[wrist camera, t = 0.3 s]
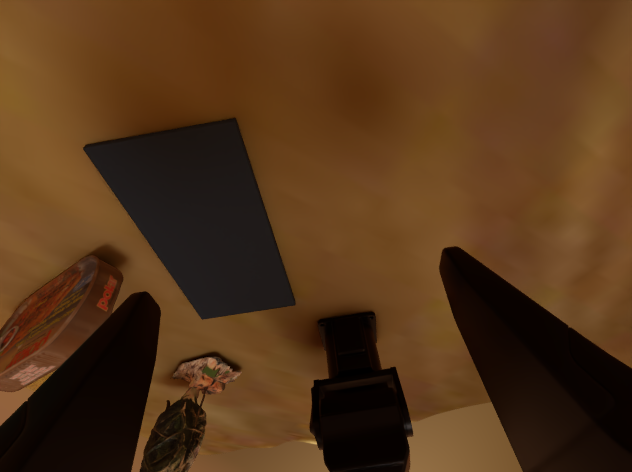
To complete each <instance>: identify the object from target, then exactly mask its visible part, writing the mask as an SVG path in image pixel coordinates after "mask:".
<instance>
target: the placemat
mask: <svg viewBox="0 0 632 472" xmlns="http://www.w3.org/2000/svg"><path fill="white" fill-rule="evenodd" d="M83 149H84V151H85V152H86V154H87V155H88V157H89V158H90V159H91V161H92V162H93V164H94V165H95V167H96V168H97V169H98V171H99V172H100V174H101V175H102V177H103V178H104V180H105V181H106V182H107V184H108V185H109V187H110V188H111V190H112V191H113V192H114V194H115V195H116V197H117V198H118V200H119V201H120V202H121V204H122V205H123V207H124V208H125V210H126V211H127V212H128V214H129V215H130V217H131V218H132V220H133V221H134V223H135V224H136V225H137V227H138V228H139V230H140V231H141V233H142V234H143V235H144V237H145V238H146V240H147V241H148V243H149V244H150V245H151V247H152V248H153V250H154V251H155V253H156V254H157V256H158V257H159V258H160V260H161V261H162V263H163V264H164V266H165V267H166V268H167V270H168V271H169V273H170V274H171V276H172V277H173V278H174V280H175V281H176V283H177V284H178V286H179V287H180V288H181V290H182V291H183V293H184V294H185V296H186V297H187V299H188V300H189V301H190V303H191V304H192V306H193V307H194V309H195V310H196V311H197V313H198V314H199V316H200V317H201V319H209V318H215V317H222V316H228V315H235V314H241V313H248V312H254V311H261V310H267V309H274V308H281V307H287V306H294V305H295V299H294V296H293V293H292V290H291V287H290V284H289V281H288V278H287V275H286V272H285V268H284V265H283V262H282V259H281V256H280V253H279V250H278V247H277V244H276V241H275V238H274V235H273V231H272V228H271V225H270V222H269V219H268V216H267V213H266V210H265V207H264V204H263V201H262V198H261V195H260V191H259V188H258V185H257V182H256V179H255V176H254V173H253V170H252V167H251V164H250V161H249V158H248V154H247V151H246V148H245V145H244V142H243V139H242V136H241V133H240V130H239V127H238V124H237V121H236V118H233V119H227V120H222V121H216V122H211V123H205V124H199V125H194V126H188V127H183V128H177V129H172V130H166V131H161V132H155V133H149V134H144V135H138V136H133V137H127V138H122V139H116V140H111V141H105V142H99V143H94V144H88V145H85V147H84V148H83Z"/></svg>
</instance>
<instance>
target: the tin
mask: <svg viewBox="0 0 632 472" xmlns="http://www.w3.org/2000/svg"><path fill="white" fill-rule="evenodd" d="M122 282H123V275H122V273H121V272H120V271H119V270H118V269H116V268H115V267H113V266H111V265H109V264H107V263H105V262H103V261H101V260H100V259H98V257H96V256H94V255H90V256H87V257H85V258H83V259H81V260H80V261H78V262H77V263H75V264H74V265H73V266H71V267H70V268H69V269H67V270H66V271H64V272H63V273H62V274H60V275H59V276H57V277H56V278H55V279H53V280H52V281H50V282H49V283H47V284H46V285H45V286H43V287H42V288H41V289H39V290H38V291H36V292H35V293H34V294H32V295H31V296H30V297H29V298H27V300H26V301H25V302H24V303H23V304H22V305H21V306H20V307H19V308H18V309H17V310H16V311H15V312H14V313H13V314H12V316H11V317H10V318H9V319H8V320H7V322H6V323H5V324H4V326H3V327H2V328H1V330H0V391H5V392H15V391H18V390H20V389H22V388H24V387H26V386H27V385H29V384H31V383H33V382H35V381H37V380H38V379H40V378H42V377H44V376H45V375H47V374H49V373H51V372H52V371H54V370H56V369H58V368H59V367H60V366H61V365H62V364H63V363H64V362H65V361H66V360H67V359H68V358H69V357H70V356H71V355H72V354H73V353H74V352H75V351H76V350H77V349H78V348H79V347H80V346H81V345H82V344H83V343H84V342H85V341H86V340H87V339H88V338H89V337H90V336H91V335H92V334H93V333H94V332H95V331H96V330H97V329H98V328H99V327H100V326H101V324H102V323H103V322H104V321H105V320H106V319H107V318H108V317H109V316H110V315H111V313H112V310H113V306H114V304H115V301H116V299H117V296H118V294H119V290H120V287H121V284H122Z"/></svg>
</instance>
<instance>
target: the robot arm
mask: <svg viewBox="0 0 632 472" xmlns="http://www.w3.org/2000/svg"><path fill="white" fill-rule="evenodd" d="M439 270H440V275H441V278H442V281H443V285H444V288H445V291H446V294H447V297H448V300H449V304H450V307H451V310H452V313H453V316H454V319H455V321H456V324H457V326H458V328H459V331H460V333H461V335H462V337H463V339H464V342H465V344H466V346H467V348H468V351H469V353H470V355H471V357H472V359H473V362H474V364H475V366H476V368H477V371H478V373H479V375H480V377H481V379H482V382H483V384H484V386H485V388H486V391H487V393H488V395H489V397H490V399H491V402H492V404H493V406H494V408H495V410H496V413H497V415H498V417H499V419H500V422H501V424H502V426H503V428H504V431H505V433H506V435H507V437H508V439H509V442H510V444H511V446H512V448H513V450H514V453H515V455H516V457H517V459H518V462H519V464H520V466H521V468H522V470H523V472H632V368H630V367H629V366H627V365H625V364H624V363H622V362H621V361H619V360H618V359H616V358H615V357H613V356H611V355H610V354H608V353H607V352H605V351H604V350H602V349H601V348H599V347H598V346H597V345H595V344H594V343H592V342H591V341H589V340H588V339H586V338H585V337H584V336H582V335H581V334H579V333H578V332H577V331H575V330H574V329H572V328H571V327H569V328H568V325H567V324H565V323H564V322H563V321H561V320H560V319H558V318H557V317H556V316H554V315H553V314H551V313H550V312H549V311H547V310H546V309H544V308H543V307H542V306H540V305H539V304H537V303H536V302H535V301H533V300H532V299H531V298H529V297H528V296H526V295H525V294H524V293H522V292H521V291H519V290H518V289H517V288H515V287H514V286H512V285H511V284H510V283H508V282H507V281H505V280H504V279H503V278H501V277H500V276H499V275H497V274H496V273H494V272H493V271H492V270H490V269H489V268H487V267H486V266H485V265H483V264H482V263H480V262H479V261H478V260H476V259H475V258H473V257H472V256H471V255H469V254H468V253H467V252H465V251H464V250H462V249H461V248H459V247H457V246H454V247H447V248H444V249H443V250H442V255H441V260H440V266H439ZM160 317H161V310H160V307H159V305H158V304H157V303H156V302H155V300H154V299H153V298H152V296H151V295H150V294H149V293H148V292H138V293H133V294H131V295H130V296H129V297H128V298H127V299H126V300H125V301H124V302H123V303H122V304H121V305H120V306H119V307H118V308H117V309H116V310H115V311H114V312H113V313H112V314H111V315H110V316H109V317H108V318H107V319H106V320H105V321H104V322H103V323H102V324H101V326H100V327H99V328H98V329H97V330H96V331H95V332H94V333H93V334H92V335H91V336H90V337H89V338H88V339H87V340H86V341H85V342H84V343H83V344H82V345H81V346H80V347H79V348H78V349H77V350H76V351H75V352H74V353H73V354H72V355H71V356H70V357H69V358H68V359H67V360H66V361H65V362H64V363H63V364H62V365H61V366H60V367H59V368H58V369H57V370H56V371H55V372H54V373H53V374H52V375H51V376H50V377H49V378H48V379H47V380H46V381H45V382H44V383H43V384H42V385H41V386H40V387H39V388H38V389H37V390H36V391H35V392H34V393H33V394H32V395H31V396H30V397H29V398H28V401H25V402H24V403H23V404H22V405H21V406H20V407H19V408H18V409H17V410H16V411H15V412H14V413H13V414H12V415H11V416H10V417H9V418H8V419H7V420H6V421H5V422H4V423H3V424H2V425H1V426H0V472H131V470H132V465H133V460H134V456H135V451H136V447H137V443H138V438H139V433H140V429H141V424H142V420H143V415H144V411H145V406H146V402H147V397H148V393H149V388H150V384H151V379H152V375H153V370H154V366H155V361H156V354H157V345H158V335H159V326H160ZM318 327H319V331H320V335H321V339H322V342H323V346H324V350H325V351H326V354H327V364H328V373H329V379H324V380H319V379H318V380H314V387H313V388H311V394H312V410H311V419H310V432H311V433H312V434H313V435H314V436H315V439H316V441H317V445H318V448H319V450H323V455H324V462H325V465H326V466H327V468H328V470H329V471H330V472H409V469H410V450H409V444H408V440H407V437H412V436H413V430H412V425H411V420H410V416H409V412H408V408H407V404H406V401H405V397H404V394H403V391H402V387H401V384H400V380H399V377H398V374H397V370H396V367H390V368H389V369H383V370H382V368H381V364H380V360H379V355H378V351H377V347H376V343H377V337H376V316H375V313H374V312H368V313H362V314H355V315H348V316H342V317H335V318H328V319H322V320H319V321H318Z"/></svg>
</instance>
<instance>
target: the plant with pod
mask: <svg viewBox="0 0 632 472" xmlns="http://www.w3.org/2000/svg"><path fill="white" fill-rule="evenodd" d="M221 360H222V359H220V358H219V357H207V358H200V359H198V360H194V361H192V362H190V363H187V362H185V363H186V364H185V363H182V364H181V365H180V367H179V368H177V370H178V371H176V373H175V374H174V373H173V374H174V376H173V378H174V379H175V378H176V379H179V378H180V379H184V380H186V381H188V382H191V383H190V384H189V387H190V388H189V389H188V391H187V392H186V393H185V394H184V395H183V397H182V398H181V399H180V400H178V401H177V402H175V403H174V404H173V405H172V406H170V401H169V400H167V407H166V410H165V412H163V413H161V414H160V415H159V417H158V419H157V422H156V424H155V426H154V428H153V429H152V430H151V435H150V437H149V440H148V441H147V444H146V446H145V449H144V456H143V460H142V463H141V469H140V472H188V470H189V469H190V468H191V465H192V464H193V462H194V461H195V458H196V456H197V454H198V452H199V449H200V447H201V444H202V441H203V438H204V437H205V426H206V413H205V411H204V410H203V409H202V407H201V406H202V403H203V401H204V397H205V394H216V393H220V392H222V391H223V390H224V389H225V384H227V382H228V383H229V382H233V381H234V379H236V378H237V376H239V375H240V374H242V372H241V371H240V372H239V371H235V372H232V369H233V368H232V369H230V366H226V365H227V364H226V363H225V362H222V361H221ZM229 369H230V370H229ZM170 379H171V378H170ZM200 390H201V391H202V393H203V394H204V395H203V399H202V401H201V404H200V406H199V405H198V404H197V398H198V395H199V391H200Z"/></svg>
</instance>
